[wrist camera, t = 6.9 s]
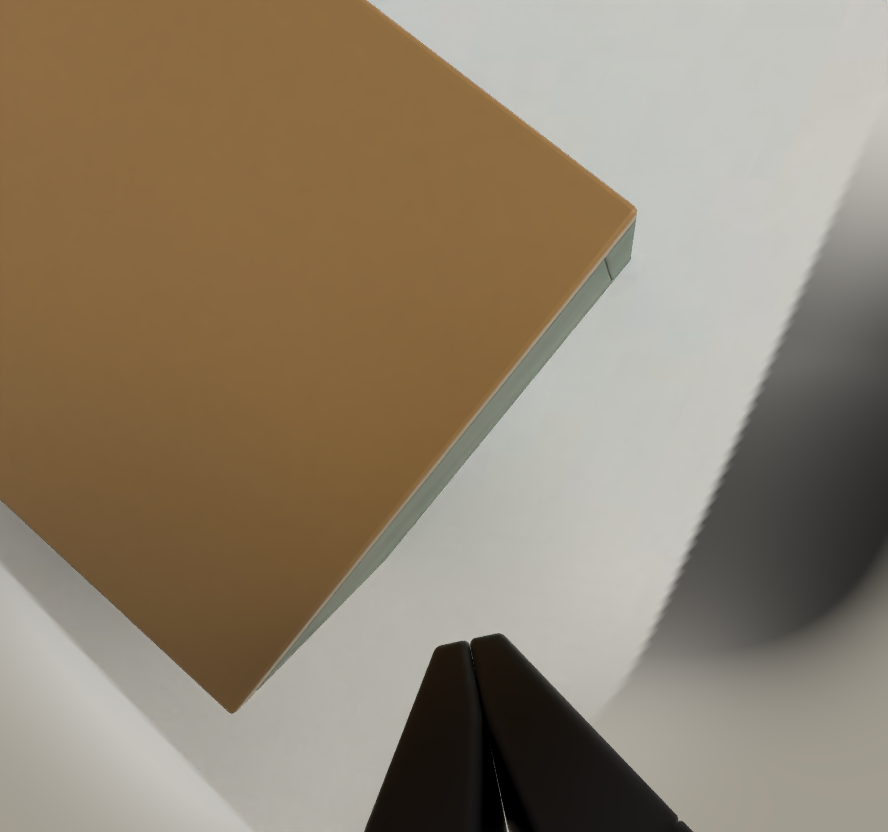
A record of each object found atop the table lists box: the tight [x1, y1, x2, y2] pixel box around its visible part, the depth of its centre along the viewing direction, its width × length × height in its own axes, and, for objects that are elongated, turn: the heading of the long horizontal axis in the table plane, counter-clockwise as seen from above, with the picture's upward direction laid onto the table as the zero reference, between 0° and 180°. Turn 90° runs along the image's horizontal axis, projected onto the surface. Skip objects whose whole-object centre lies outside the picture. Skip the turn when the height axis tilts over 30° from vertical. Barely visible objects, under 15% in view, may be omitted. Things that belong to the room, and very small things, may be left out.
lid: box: [0, 0, 637, 714], centre depth 13 cm, size 14×12×1 cm
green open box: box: [256, 219, 636, 691], centre depth 18 cm, size 14×12×8 cm
